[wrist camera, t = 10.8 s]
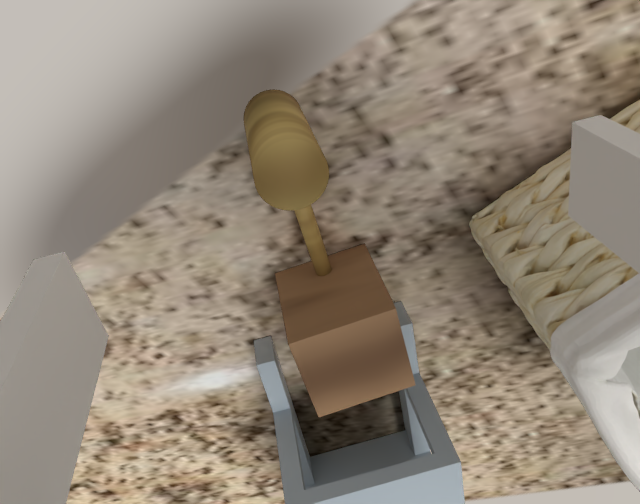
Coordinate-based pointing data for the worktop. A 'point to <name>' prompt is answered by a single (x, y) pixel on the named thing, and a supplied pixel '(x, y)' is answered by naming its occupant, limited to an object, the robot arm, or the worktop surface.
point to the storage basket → (573, 297)
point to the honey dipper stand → (324, 272)
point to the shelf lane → (366, 447)
